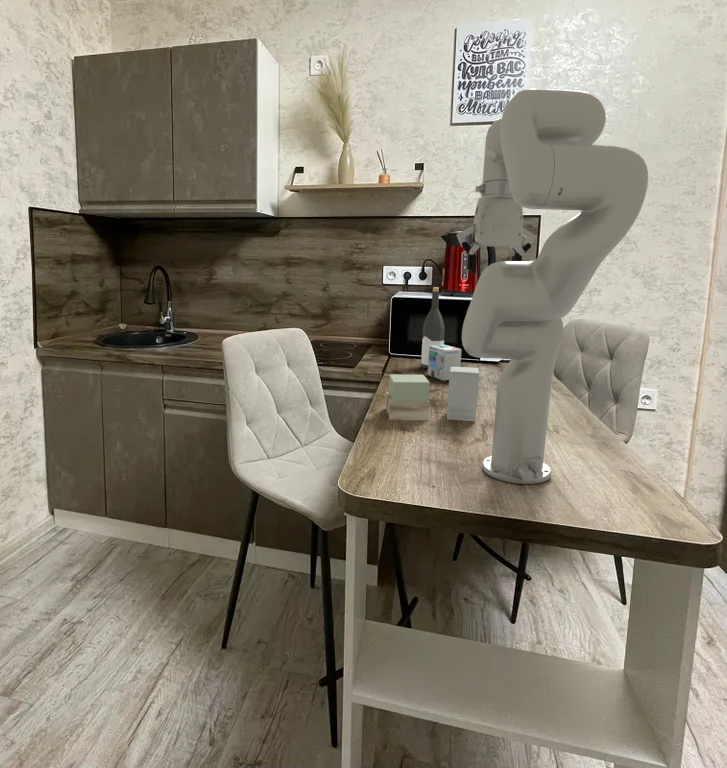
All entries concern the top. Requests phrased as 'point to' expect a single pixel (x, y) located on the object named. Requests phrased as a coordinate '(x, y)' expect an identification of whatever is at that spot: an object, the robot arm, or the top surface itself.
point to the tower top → (408, 388)
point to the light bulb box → (443, 360)
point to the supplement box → (462, 393)
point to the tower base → (407, 409)
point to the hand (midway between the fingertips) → (493, 273)
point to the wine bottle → (432, 329)
